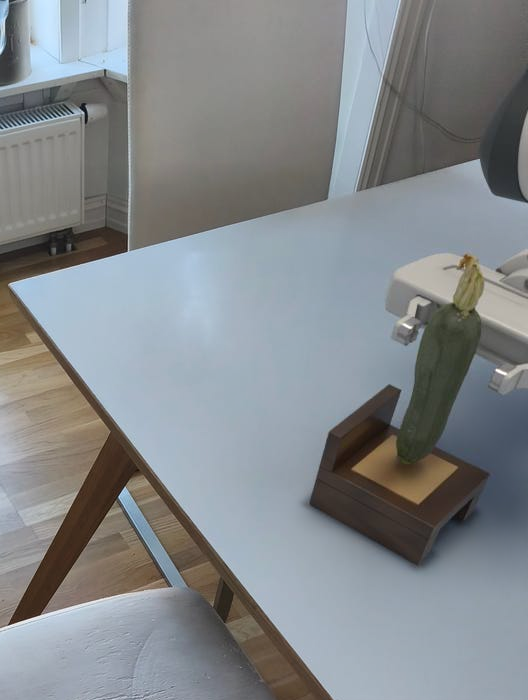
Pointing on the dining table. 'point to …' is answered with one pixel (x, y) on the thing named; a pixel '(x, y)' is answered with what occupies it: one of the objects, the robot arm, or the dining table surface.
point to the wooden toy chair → (391, 482)
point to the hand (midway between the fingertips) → (446, 358)
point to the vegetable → (442, 365)
